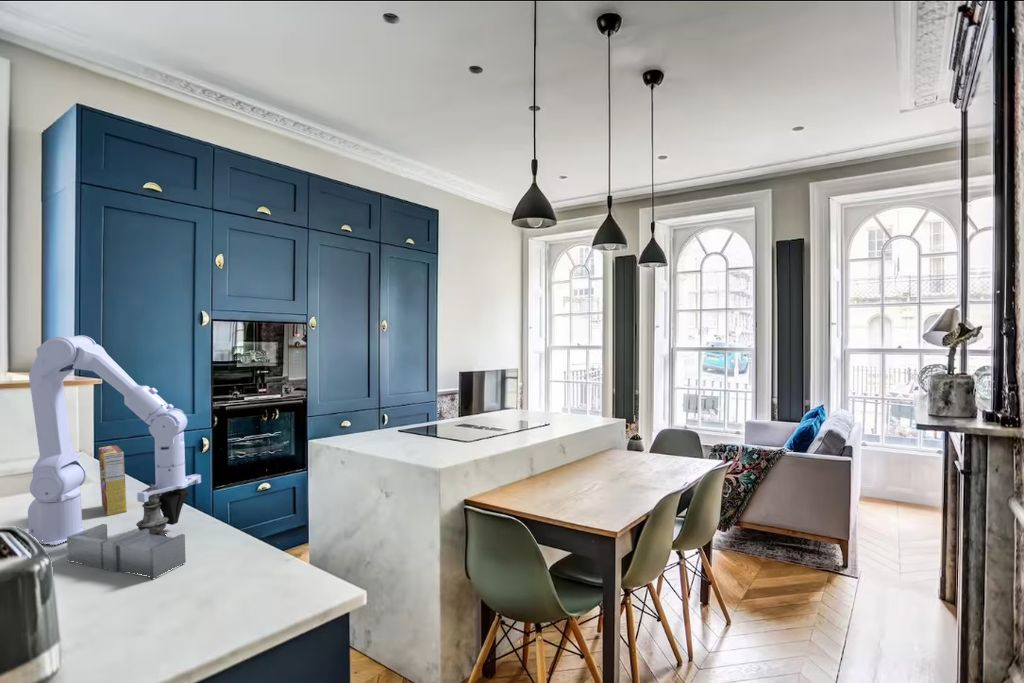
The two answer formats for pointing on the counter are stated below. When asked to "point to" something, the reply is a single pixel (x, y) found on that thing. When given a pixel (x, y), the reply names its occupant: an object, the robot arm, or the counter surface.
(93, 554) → the grey divided tray
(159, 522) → the grey tapered rounded piece
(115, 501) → the candy box
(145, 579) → the counter surface
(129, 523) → the counter surface
